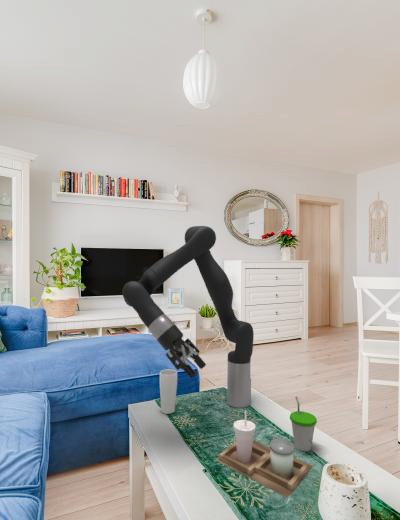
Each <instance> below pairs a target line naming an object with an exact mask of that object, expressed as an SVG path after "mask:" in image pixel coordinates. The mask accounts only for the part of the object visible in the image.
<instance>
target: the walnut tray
mask: <svg viewBox="0 0 400 520" xmlns="http://www.w3.org/2000/svg"><path fill="white" fill-rule="evenodd" d="M270 454H271V449H270V446H268V445H266V444H264V443H261V442H259V441H256V440H255V439H253V445H252V452H251V460H250V461H249V462H247V463H243V462H240V461H239V460H238V458H237V448H236V441H235V442H234V443H232V444H231V445H230V446H228V447H227V448H225V450H223V451H222V452H220V453H219V454H218V457H217V458H216V459H215V461H216V462H218V463H220V464H222V465H224V466H225V467H228V468H229V469H231V470H233V471H234V472H237V473H239V474H241V475H242V476H245V477H246V478H248V479H250V480H252V481H255V482H256V483H258V484H259V485H260V486H261V485H262V486H263V487H266V488H268V489H269V490H271V491H273V492H274V493H277V494H279V495H280V496H282V497H284V498H286V499H288V498H289V497H290V496H291V495H292V493H293V492H294V491H295V490H296V488H297V487H298V485H299V484H300V483H301V482H302V481H303V480H304V478H305V477H306V476H307V475H308V473H309V472H310V471H311V470H312V468H314V465H312V464H310V463H307V462H304V461H303V460H301V459H298V458H296V457H293V476H292V477H291V478H289V479H284V478H282V477H280V476H277V475H275V474H273V473H271V471H270Z"/></svg>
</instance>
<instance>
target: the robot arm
mask: <svg viewBox="0 0 400 520" xmlns="http://www.w3.org/2000/svg"><path fill="white" fill-rule="evenodd" d="M216 234H217V233H216V232H215V230H214V229H213V228H212V227H209V226H206V225H195V226H191V227H188V228H187V229H186V231H185V233H184V244H183V245H182V246H181V247H179V248H178V249H176V250H174V251H173V252H171V253H169V254H167V255H166V256H164V257H162V258H161V259H159V260H158V261H156V262H155V263H154V264H152V265H151V266H150V267H149V268H148V269H147V270H145V271H144V272H143V275H142V276H141V278H140V279H139V280H138V281H136V280H135V281H134V280H132V281H128V282H126V283H125V284H124V286H123V288H122V292H121V293H122V297H123V301H124V302H125V304H126V305H127V306H128V307H132V308H133V310H134V311H135V312H136V314H137V315H138V317H139V320H141V322H142V323H143V325H145V327H146V328H147V329H148V330H149V332H150V334H151V335H152V336H153V338H155V340H156V341H157V342H158V344H159V345H160V346H161V348H163V350H164V351H167V352H166V353H165V356H166V357H167V359H168V360H169V361H170V363H171V364H172V365H173V366H174V368H175V370H176V371H179V370H183V371H184V373H186V375H187V376H188V378H189V379H193V378H194V377H195V376H196V375H197V372H196V371H195V370H194V369H193V367H192V366H191V365H190V364H189V363H188V360H187V358H190V359H191V360H193V362H194V363H195V364H196V365H197V367H198V368H199V369H200V370H203V368H205V366H206V363H205V361H204V360H203V359H202V358H201V357H200V354H199V353H200V352H201V351H200V350H199V348H198V347H197V346H196V345H195V344H194V343H193V342H192V341H191V339H189V338H188V337H187V338H186V339H185V340H184V339H183V337H184V333H183V332H182V331H181V330H180V328H179V327H178V326H177V325H176V324H175V323H174V322H173V320H172V319H171V318H170V317H169V316H167V314H165V312H164V311H163V310H162V309H161V308H160V307H159V305H158V304H157V303H156V302H155V301H154V299H153V298H152V296H151V295H153V293H154V292H155V291H156V290H158V288H159V287H161V286H162V285H163V284H164V283H165V282H166V281H167V280H169V279H170V278H171V277H172V276H174V275H175V274H176V273H177V272H178V271H180V269H182V268H184V267H185V266H186V265H188V264H189V263H190V262H191V261H194V262H195V264H196V265H197V269H198V271H199V273H200V275H201V278H202V280H203V283H204V285H205V288H206V291H207V293H208V295H209V297H210V299H211V301H212V304H213V305H214V309H215V312H216V314H217V316H218V319H219V321H220V325H221V329H222V333H223V335H224V337H225V338H226V340H228V342H231V343H233V344H234V345H235V346H234V350H231V351H229V352H228V354H227V373H226V374H227V377H226V378H227V382H226V383H227V385H226V386H227V388H226V389H227V390H226V391H227V392H226V394H227V395H226V403H227V404H228V405H229V406H231V407H233V408H237V409H239V408H240V409H243V408H247V407H249V406H250V404H251V402H252V378H251V362H252V359H251V358H252V355H253V351H254V327H253V326H252V324H251V323H249V322H247V321H243V320H240V319H239V320H238V318H237V317H236V314H235V311H234V309H233V299H234V291H233V287H232V284H231V281H230V280H229V277H228V275H227V274H226V272H225V271H224V270H223V268H222V267H221V265H219V263H218V262H217V261H216V260H215V258H214V256H213V255H212V253H211V249H212V248H213V247H214V246H215V244H216V241H217V235H216Z"/></svg>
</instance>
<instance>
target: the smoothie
mask: <svg viewBox="0 0 400 520" xmlns="http://www.w3.org/2000/svg"><path fill="white" fill-rule="evenodd" d="M247 412H248V411H247V410H244V419H238V420H236V421H234V422H233V426H232V427H233V431H234V437H235V439H234V440H235V442H236V448H237V458H238V460H239V461H240V462H243V463H247V462H249V461H250V460H251V452H252V445H253V440H254V438H255V432H256V424H255V423H254V422H253V421H251V420H247V419H248V417H247V415H248V414H247Z"/></svg>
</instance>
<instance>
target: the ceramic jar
mask: <svg viewBox="0 0 400 520" xmlns="http://www.w3.org/2000/svg"><path fill="white" fill-rule="evenodd" d="M269 447H270V449H271V454H270V471H271V473H273V474H275V475H277V476H280V477H282V478H284V479H289V478H291V477H292V476H293V458H294V453H295V446H294V443H293V442H291V441H290V440H288V439H286V438H273V439H272V440H270V442H269Z"/></svg>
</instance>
